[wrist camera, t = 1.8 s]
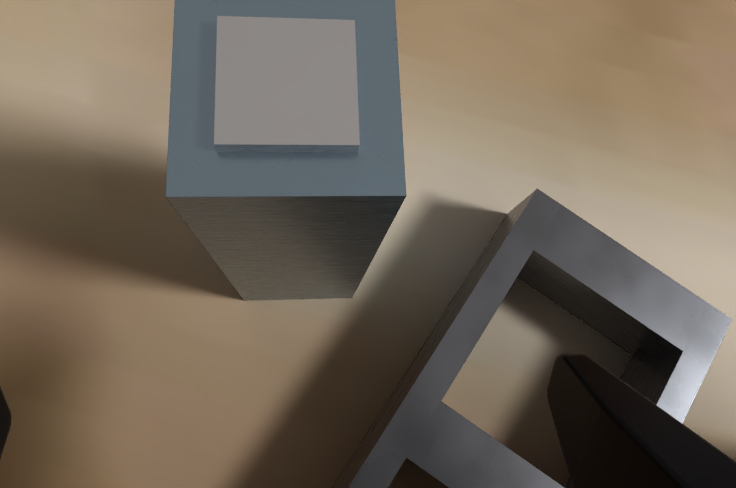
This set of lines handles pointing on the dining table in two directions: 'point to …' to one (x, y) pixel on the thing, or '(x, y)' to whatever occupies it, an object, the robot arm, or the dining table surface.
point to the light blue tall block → (286, 139)
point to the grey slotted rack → (575, 294)
